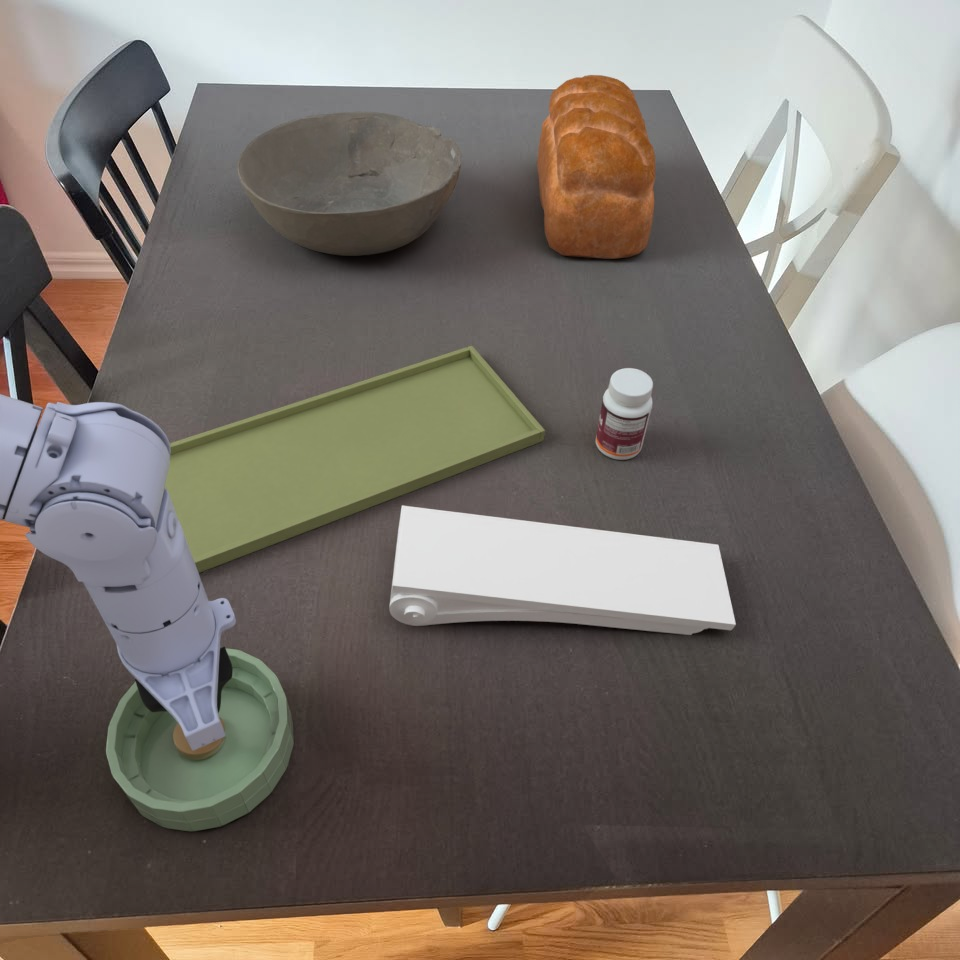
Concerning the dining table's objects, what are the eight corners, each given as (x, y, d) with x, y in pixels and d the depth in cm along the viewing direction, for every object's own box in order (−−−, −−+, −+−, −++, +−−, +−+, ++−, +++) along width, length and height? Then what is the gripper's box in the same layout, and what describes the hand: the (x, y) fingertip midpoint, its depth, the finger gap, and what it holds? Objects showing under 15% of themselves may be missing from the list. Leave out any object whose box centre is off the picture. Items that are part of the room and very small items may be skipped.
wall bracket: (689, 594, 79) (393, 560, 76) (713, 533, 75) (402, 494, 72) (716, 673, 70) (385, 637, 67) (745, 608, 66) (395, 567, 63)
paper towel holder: (180, 767, 59) (167, 695, 53) (169, 725, 61) (155, 652, 55) (231, 749, 61) (224, 678, 55) (218, 709, 63) (210, 636, 57)
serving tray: (152, 591, 70) (147, 580, 69) (111, 474, 79) (106, 463, 78) (544, 440, 84) (545, 430, 83) (471, 355, 93) (472, 345, 92)
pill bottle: (604, 422, 86) (616, 359, 80) (648, 437, 85) (664, 374, 79) (587, 451, 83) (598, 387, 77) (632, 467, 82) (647, 404, 76)
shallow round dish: (147, 866, 56) (130, 845, 53) (105, 716, 63) (89, 690, 60) (319, 781, 60) (312, 757, 57) (262, 650, 67) (253, 622, 64)
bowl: (491, 260, 106) (495, 187, 99) (276, 303, 98) (263, 227, 91) (419, 162, 123) (417, 93, 116) (231, 192, 115) (216, 121, 108)
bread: (543, 261, 106) (555, 143, 95) (533, 162, 124) (542, 52, 113) (652, 263, 107) (677, 146, 95) (626, 164, 125) (644, 56, 113)
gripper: (257, 660, 46) (291, 765, 56) (183, 485, 54) (224, 604, 64) (126, 716, 43) (185, 816, 53) (69, 524, 51) (130, 641, 61)
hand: (200, 703), depth 58 cm, fingers closed on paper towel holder
